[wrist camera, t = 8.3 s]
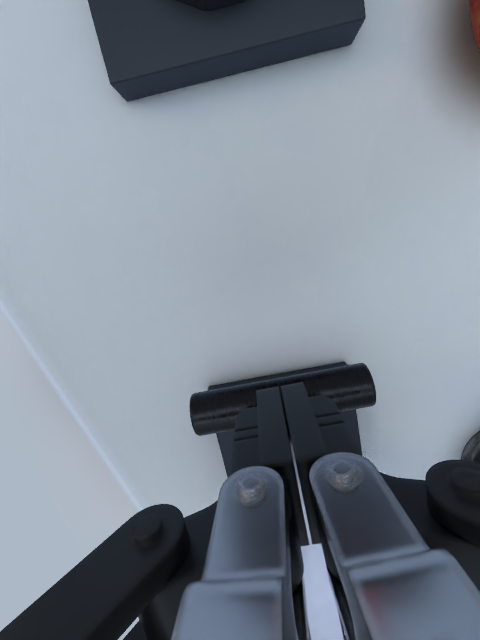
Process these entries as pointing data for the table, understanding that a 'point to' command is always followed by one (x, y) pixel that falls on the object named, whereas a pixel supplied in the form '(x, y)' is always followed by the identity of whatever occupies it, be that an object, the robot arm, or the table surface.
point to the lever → (348, 393)
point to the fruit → (475, 20)
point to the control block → (212, 37)
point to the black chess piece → (472, 449)
